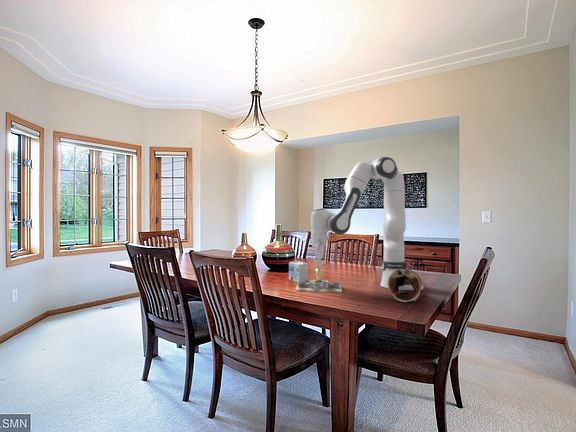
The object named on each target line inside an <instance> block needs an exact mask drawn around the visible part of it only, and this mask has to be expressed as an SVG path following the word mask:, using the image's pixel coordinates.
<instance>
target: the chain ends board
mask: <svg viewBox="0 0 576 432" xmlns="http://www.w3.org/2000/svg"><path fill="white" fill-rule="evenodd" d="M308 281H309V282H308ZM308 281H306V282H304V281H300V282H297V284H296V287H295V289H294V290H295V292H310V291H311V293H312V292H314V293H315V292H316V293H317V292H318V293H341V294H342V293H343V288H342V284H341V285H340V282H336V281H335V282H329V280H327V279H325V280H323V279H322V283H318V282H316V279H310V280H308Z"/></svg>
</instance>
